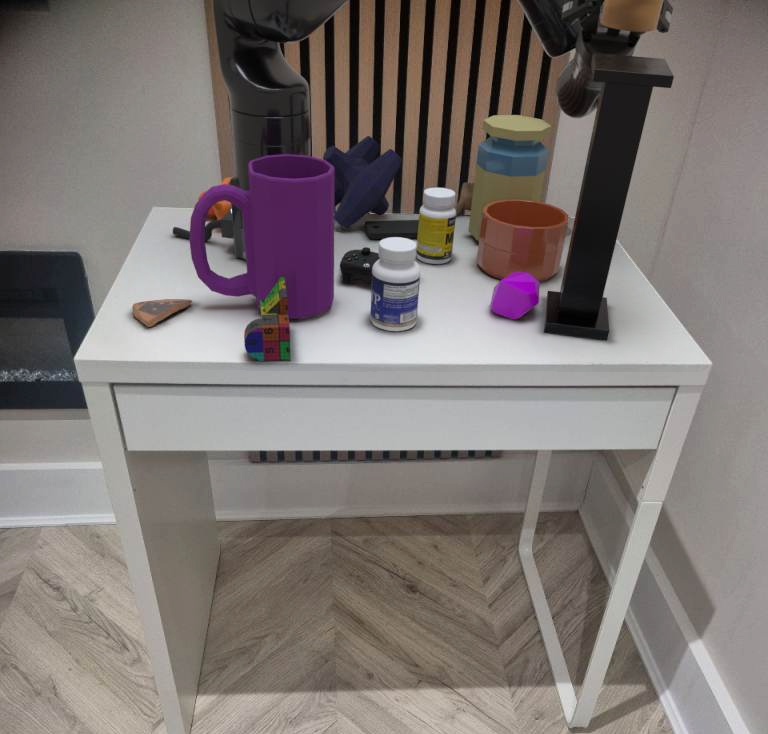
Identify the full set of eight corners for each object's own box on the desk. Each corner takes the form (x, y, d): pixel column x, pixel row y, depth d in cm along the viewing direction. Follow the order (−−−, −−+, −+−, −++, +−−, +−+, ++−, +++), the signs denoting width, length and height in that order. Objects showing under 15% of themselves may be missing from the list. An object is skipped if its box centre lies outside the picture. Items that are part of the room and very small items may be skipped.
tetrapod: (326, 229, 105) (346, 141, 99) (297, 203, 113) (314, 120, 108) (398, 241, 110) (421, 159, 105) (365, 216, 119) (385, 138, 113)
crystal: (536, 323, 88) (543, 284, 85) (488, 319, 88) (494, 280, 85) (534, 304, 92) (540, 266, 89) (488, 300, 92) (494, 262, 89)
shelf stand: (543, 332, 86) (595, 68, 70) (546, 299, 93) (593, 52, 77) (607, 340, 85) (674, 75, 69) (604, 306, 92) (665, 58, 76)
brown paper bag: (451, 217, 115) (460, 199, 120) (531, 232, 113) (536, 213, 119) (457, 178, 111) (466, 161, 116) (540, 193, 109) (545, 175, 115)
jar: (454, 234, 109) (466, 118, 99) (501, 223, 113) (517, 111, 104) (498, 256, 103) (516, 135, 94) (546, 244, 108) (568, 127, 98)
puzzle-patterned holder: (289, 310, 75) (242, 311, 75) (290, 360, 79) (245, 361, 78) (284, 277, 81) (241, 278, 81) (286, 324, 85) (244, 325, 84)
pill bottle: (368, 311, 88) (371, 233, 83) (413, 311, 89) (419, 234, 83) (371, 332, 84) (374, 252, 79) (419, 332, 85) (425, 253, 79)
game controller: (422, 269, 96) (411, 247, 90) (408, 310, 96) (396, 289, 90) (353, 254, 99) (338, 231, 93) (339, 293, 98) (323, 272, 93)
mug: (339, 319, 86) (340, 179, 76) (196, 325, 83) (179, 180, 74) (329, 285, 93) (329, 153, 83) (197, 289, 90) (181, 153, 81)
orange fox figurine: (261, 202, 114) (245, 229, 104) (213, 209, 115) (192, 235, 105) (253, 166, 111) (235, 190, 101) (203, 173, 112) (181, 197, 102)
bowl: (472, 278, 97) (479, 222, 93) (480, 248, 105) (487, 195, 101) (557, 288, 96) (568, 232, 91) (558, 257, 104) (568, 204, 99)
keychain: (440, 232, 107) (369, 233, 105) (440, 237, 107) (369, 238, 105) (432, 219, 111) (363, 220, 109) (431, 224, 111) (363, 225, 109)
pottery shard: (139, 319, 82) (128, 298, 85) (141, 331, 82) (129, 310, 86) (202, 310, 84) (188, 290, 87) (203, 322, 85) (189, 302, 88)
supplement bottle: (448, 266, 100) (455, 200, 94) (413, 262, 100) (417, 195, 95) (453, 253, 103) (460, 188, 98) (419, 249, 104) (424, 184, 98)
